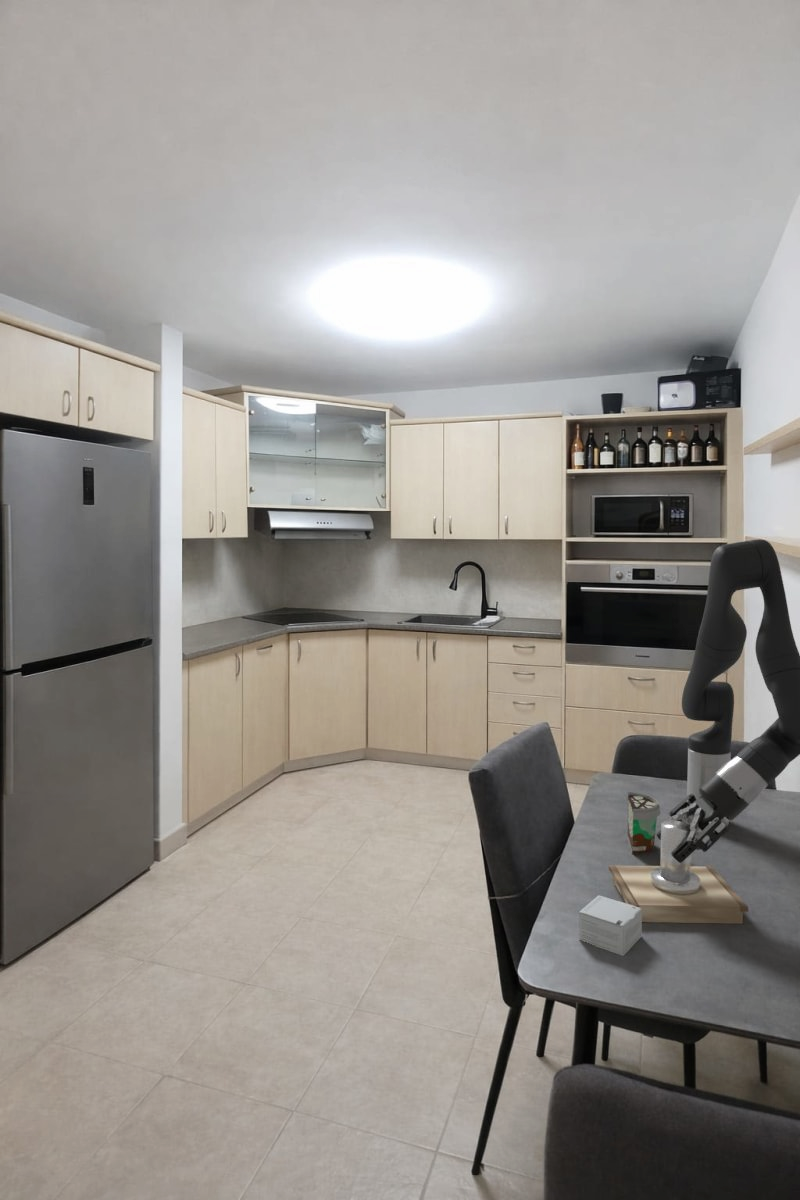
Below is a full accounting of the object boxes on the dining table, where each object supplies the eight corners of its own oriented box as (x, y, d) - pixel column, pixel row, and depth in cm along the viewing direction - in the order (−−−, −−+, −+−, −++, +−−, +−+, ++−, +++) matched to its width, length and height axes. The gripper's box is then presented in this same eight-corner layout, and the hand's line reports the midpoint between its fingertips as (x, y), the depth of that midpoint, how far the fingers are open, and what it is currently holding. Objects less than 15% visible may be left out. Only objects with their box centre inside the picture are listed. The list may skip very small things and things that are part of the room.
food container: (663, 859, 153) (664, 811, 152) (632, 856, 154) (633, 809, 154) (655, 836, 165) (656, 792, 164) (626, 834, 166) (627, 791, 166)
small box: (598, 922, 127) (598, 893, 127) (642, 937, 122) (643, 907, 122) (577, 941, 121) (577, 911, 121) (623, 957, 116) (623, 926, 116)
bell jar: (645, 874, 139) (646, 817, 138) (690, 874, 139) (691, 817, 138) (659, 895, 131) (660, 834, 130) (707, 895, 130) (708, 834, 130)
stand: (608, 880, 143) (608, 864, 143) (710, 881, 143) (711, 866, 142) (631, 922, 127) (632, 905, 127) (747, 924, 126) (748, 907, 126)
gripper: (703, 761, 140) (641, 820, 141) (735, 785, 126) (665, 850, 127) (731, 789, 140) (668, 847, 141) (765, 816, 126) (696, 880, 127)
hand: (667, 848), depth 134 cm, fingers open, 8 cm apart
